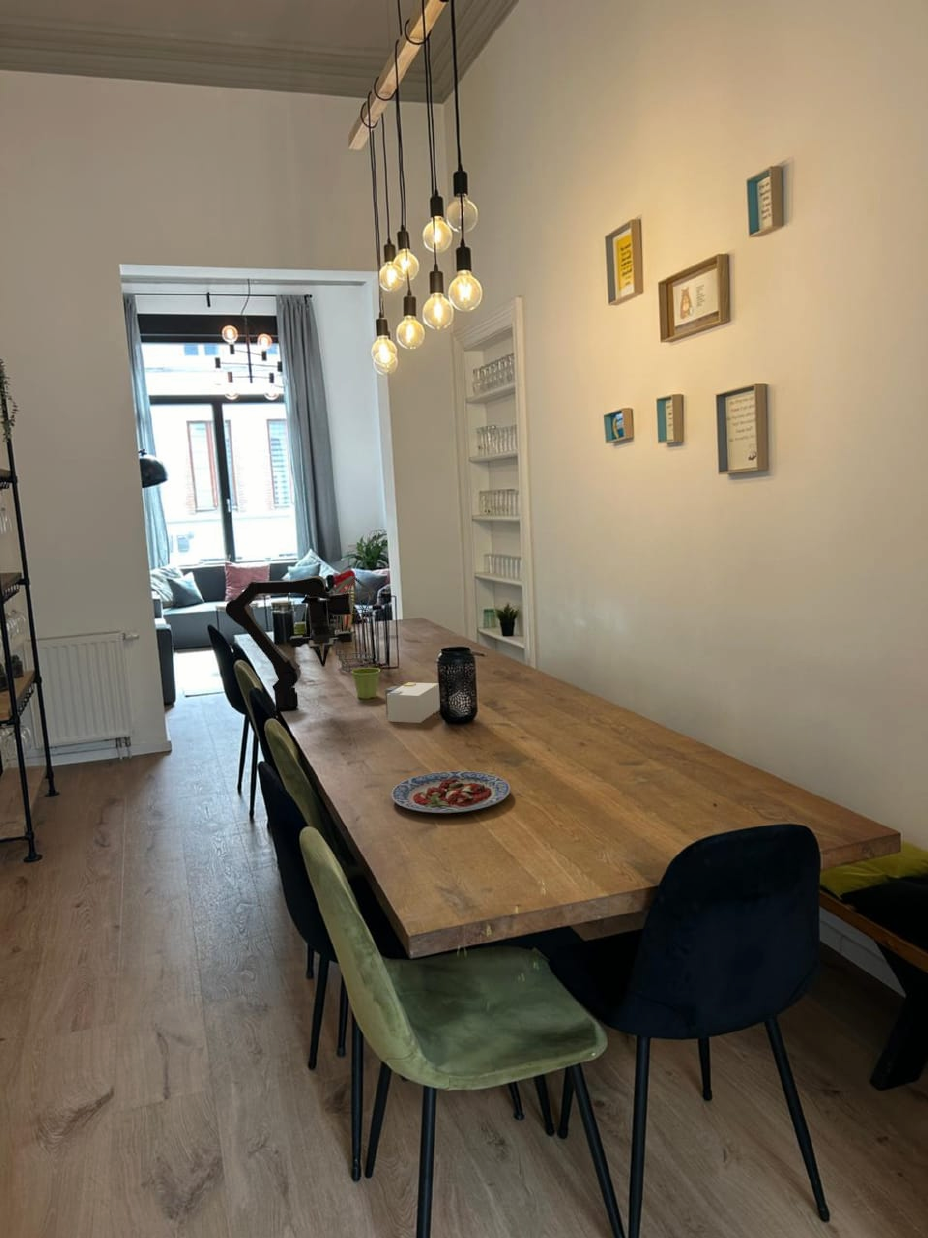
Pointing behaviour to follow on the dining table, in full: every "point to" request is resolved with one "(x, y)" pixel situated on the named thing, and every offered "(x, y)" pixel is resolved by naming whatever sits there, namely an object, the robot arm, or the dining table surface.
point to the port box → (413, 702)
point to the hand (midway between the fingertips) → (323, 666)
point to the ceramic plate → (450, 791)
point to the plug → (389, 692)
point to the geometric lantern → (342, 584)
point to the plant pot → (366, 682)
